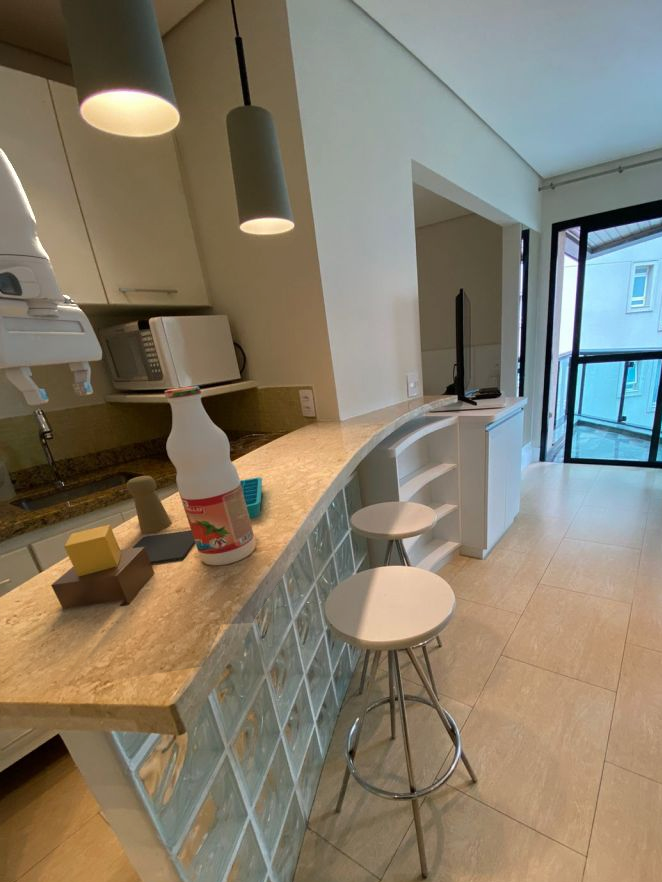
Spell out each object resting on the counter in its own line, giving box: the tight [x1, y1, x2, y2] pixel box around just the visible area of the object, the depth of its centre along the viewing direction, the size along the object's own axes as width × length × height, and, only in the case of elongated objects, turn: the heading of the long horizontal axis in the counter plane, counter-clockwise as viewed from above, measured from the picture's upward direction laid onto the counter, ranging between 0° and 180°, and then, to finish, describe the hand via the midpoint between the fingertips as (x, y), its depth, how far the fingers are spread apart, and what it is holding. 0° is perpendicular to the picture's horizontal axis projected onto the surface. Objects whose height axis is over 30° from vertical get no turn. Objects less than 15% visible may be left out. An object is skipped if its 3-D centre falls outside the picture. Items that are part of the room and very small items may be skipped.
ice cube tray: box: [240, 476, 263, 519], centre depth 93 cm, size 12×20×3 cm, turn 14°
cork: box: [126, 475, 172, 534], centre depth 85 cm, size 6×6×11 cm
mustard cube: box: [63, 524, 121, 577], centre depth 60 cm, size 5×5×5 cm
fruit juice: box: [164, 385, 257, 566], centre depth 66 cm, size 9×9×28 cm
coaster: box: [131, 529, 196, 565], centre depth 76 cm, size 12×12×1 cm
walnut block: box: [50, 547, 155, 610], centre depth 62 cm, size 9×9×5 cm
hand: (64, 399), depth 58 cm, fingers open, 8 cm apart
